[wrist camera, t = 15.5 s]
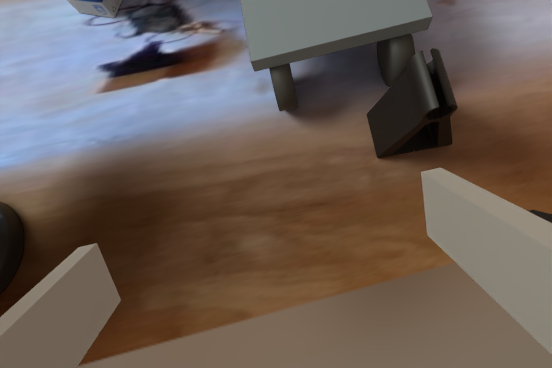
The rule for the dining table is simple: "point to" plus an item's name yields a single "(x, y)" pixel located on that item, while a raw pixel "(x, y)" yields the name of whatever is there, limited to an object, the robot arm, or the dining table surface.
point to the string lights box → (97, 7)
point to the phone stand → (414, 109)
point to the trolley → (329, 34)
